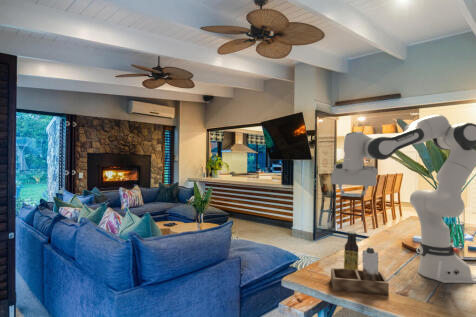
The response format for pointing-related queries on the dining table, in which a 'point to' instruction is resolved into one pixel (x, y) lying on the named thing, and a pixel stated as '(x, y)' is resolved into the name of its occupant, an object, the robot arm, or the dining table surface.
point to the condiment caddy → (358, 282)
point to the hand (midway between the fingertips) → (352, 194)
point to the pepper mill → (370, 264)
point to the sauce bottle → (351, 252)
